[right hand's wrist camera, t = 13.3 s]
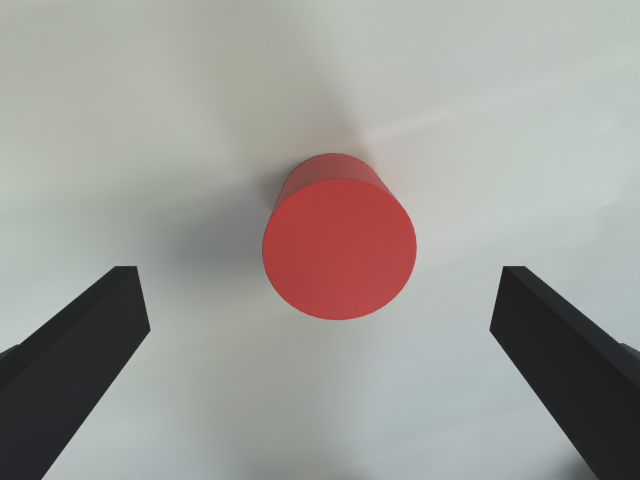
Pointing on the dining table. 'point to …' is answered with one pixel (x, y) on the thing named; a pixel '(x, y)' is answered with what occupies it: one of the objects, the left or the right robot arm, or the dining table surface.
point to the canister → (338, 240)
